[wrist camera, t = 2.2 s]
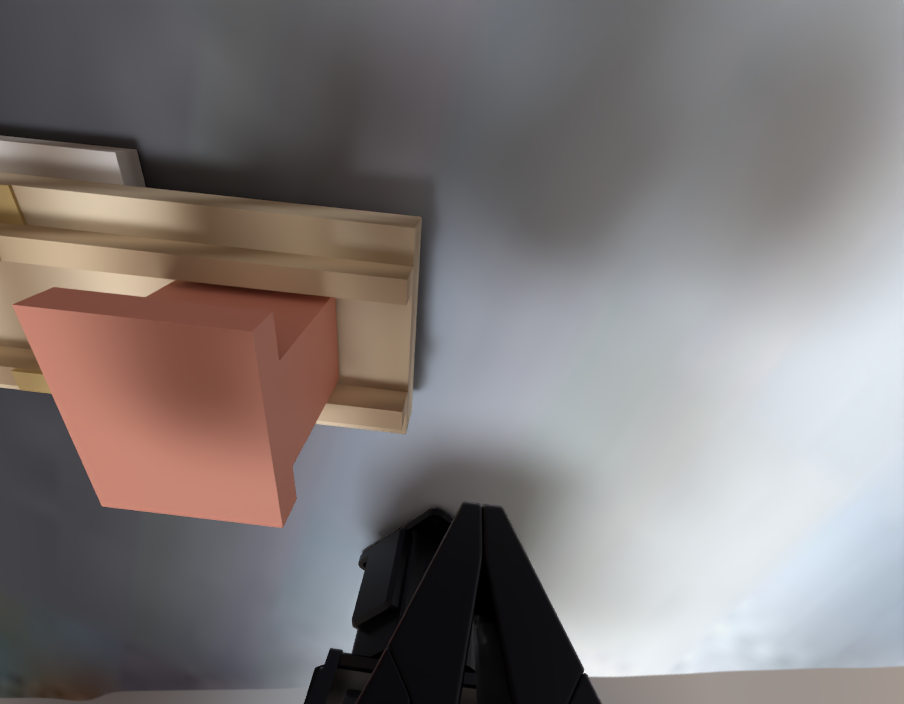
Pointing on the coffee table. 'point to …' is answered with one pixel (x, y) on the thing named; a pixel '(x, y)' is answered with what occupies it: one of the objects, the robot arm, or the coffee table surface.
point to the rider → (188, 392)
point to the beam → (208, 262)
